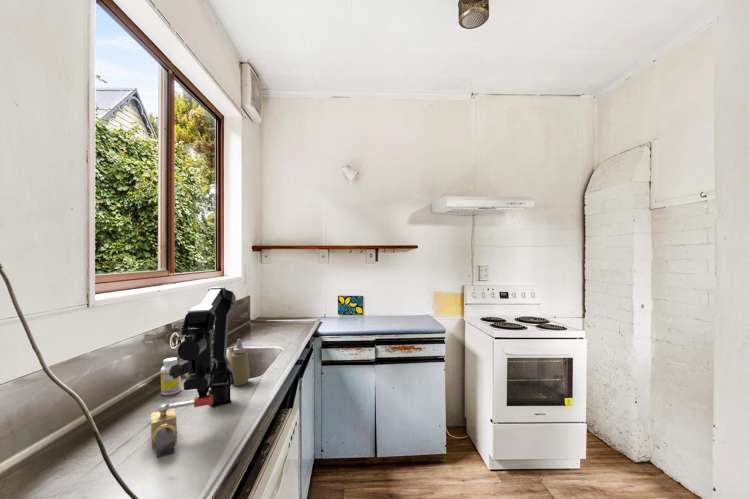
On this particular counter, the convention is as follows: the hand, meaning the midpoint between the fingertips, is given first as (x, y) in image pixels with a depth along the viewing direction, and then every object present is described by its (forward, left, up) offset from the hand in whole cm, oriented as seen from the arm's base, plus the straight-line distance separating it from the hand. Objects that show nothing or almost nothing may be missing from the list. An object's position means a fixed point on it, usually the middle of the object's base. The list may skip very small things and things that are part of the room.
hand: (202, 400), depth 106 cm
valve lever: (+5, +2, 0) cm, 5 cm away
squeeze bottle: (-18, -32, -8) cm, 37 cm away
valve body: (+10, 0, -8) cm, 13 cm away
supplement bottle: (+6, -39, -8) cm, 40 cm away
